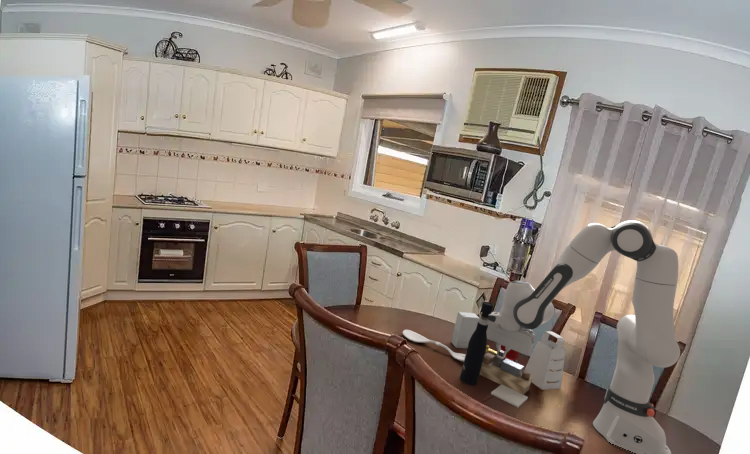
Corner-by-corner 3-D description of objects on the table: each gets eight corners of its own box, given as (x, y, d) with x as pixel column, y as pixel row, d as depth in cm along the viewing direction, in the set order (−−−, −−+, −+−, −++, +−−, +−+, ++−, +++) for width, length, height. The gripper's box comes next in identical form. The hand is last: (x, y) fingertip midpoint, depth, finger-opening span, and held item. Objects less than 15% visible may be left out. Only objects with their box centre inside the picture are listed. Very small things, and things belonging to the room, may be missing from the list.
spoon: (466, 368, 170) (468, 360, 170) (397, 337, 187) (399, 330, 186) (474, 362, 178) (476, 354, 177) (407, 332, 194) (409, 325, 194)
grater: (540, 374, 179) (553, 328, 176) (560, 388, 170) (574, 340, 167) (521, 375, 174) (534, 328, 171) (541, 389, 165) (555, 340, 162)
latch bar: (497, 354, 167) (499, 350, 167) (496, 356, 165) (497, 351, 165) (483, 348, 170) (484, 343, 170) (481, 349, 169) (482, 344, 169)
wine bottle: (480, 382, 160) (500, 305, 156) (471, 386, 155) (491, 307, 151) (465, 374, 164) (484, 299, 160) (456, 378, 160) (475, 301, 155)
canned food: (516, 371, 176) (522, 346, 175) (496, 366, 178) (502, 341, 176) (513, 363, 184) (520, 339, 182) (494, 358, 185) (501, 334, 183)
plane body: (528, 389, 162) (534, 369, 161) (522, 395, 157) (528, 374, 156) (484, 368, 173) (489, 349, 172) (477, 373, 167) (482, 353, 166)
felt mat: (527, 398, 155) (528, 397, 155) (518, 407, 147) (518, 406, 147) (501, 385, 161) (501, 384, 161) (490, 393, 153) (491, 392, 153)
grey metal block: (521, 374, 163) (524, 366, 162) (517, 377, 159) (520, 369, 159) (504, 366, 167) (506, 358, 166) (499, 369, 163) (502, 361, 163)
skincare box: (467, 343, 195) (474, 312, 193) (472, 350, 190) (480, 318, 187) (450, 342, 193) (457, 310, 191) (455, 348, 187) (463, 315, 185)
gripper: (540, 331, 160) (530, 365, 162) (488, 310, 172) (480, 343, 174) (534, 334, 155) (525, 370, 157) (482, 313, 167) (473, 346, 169)
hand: (501, 355), depth 165 cm, fingers closed
